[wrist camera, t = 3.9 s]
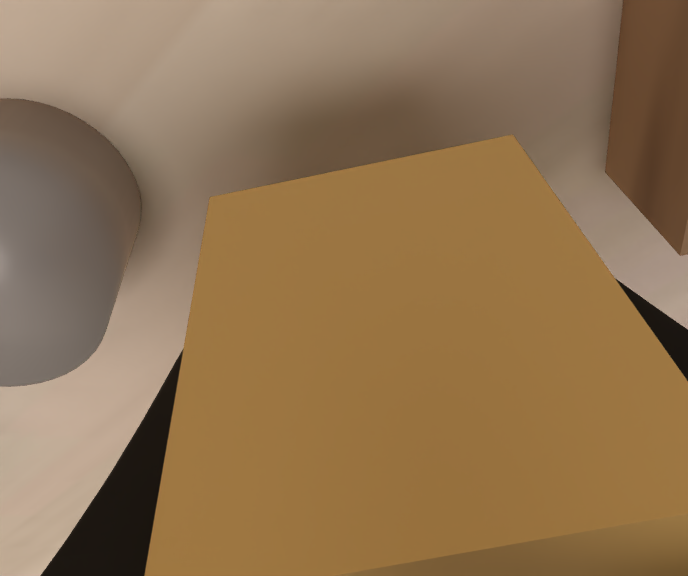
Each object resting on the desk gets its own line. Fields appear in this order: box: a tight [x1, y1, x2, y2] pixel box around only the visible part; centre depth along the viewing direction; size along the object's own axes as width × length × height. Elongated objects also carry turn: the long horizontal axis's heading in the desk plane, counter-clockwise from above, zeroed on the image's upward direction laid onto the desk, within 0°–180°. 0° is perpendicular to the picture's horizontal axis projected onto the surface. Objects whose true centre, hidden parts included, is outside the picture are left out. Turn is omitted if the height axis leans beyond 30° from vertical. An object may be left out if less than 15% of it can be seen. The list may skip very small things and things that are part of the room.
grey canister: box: [0, 98, 141, 387], centre depth 14 cm, size 5×5×4 cm
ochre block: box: [145, 135, 688, 576], centre depth 8 cm, size 4×4×6 cm
